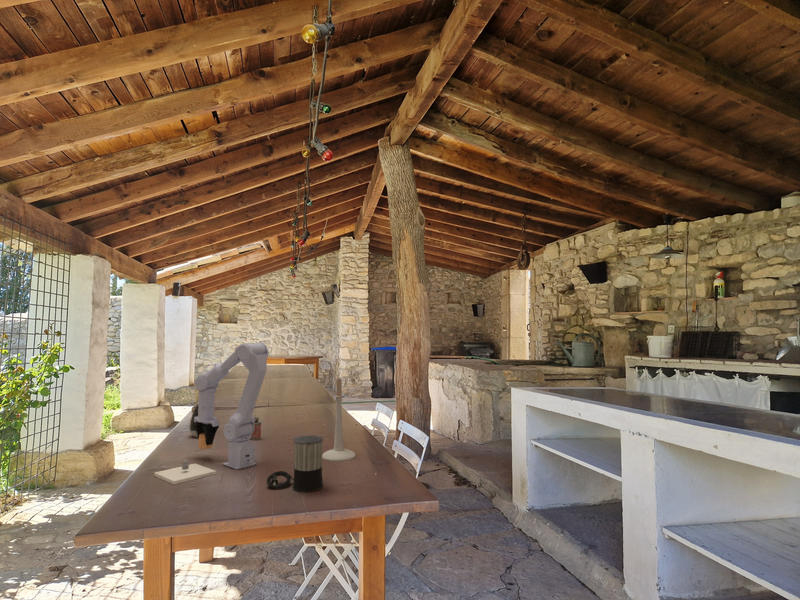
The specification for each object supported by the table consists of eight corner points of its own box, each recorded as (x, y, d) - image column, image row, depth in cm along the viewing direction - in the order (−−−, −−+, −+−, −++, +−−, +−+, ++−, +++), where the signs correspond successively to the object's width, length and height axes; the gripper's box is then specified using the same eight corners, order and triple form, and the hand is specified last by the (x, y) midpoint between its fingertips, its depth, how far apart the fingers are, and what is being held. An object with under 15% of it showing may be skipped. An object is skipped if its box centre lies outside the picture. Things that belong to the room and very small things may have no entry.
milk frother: (327, 489, 144) (327, 439, 145) (275, 498, 137) (276, 446, 138) (312, 476, 157) (312, 431, 158) (263, 484, 149) (264, 436, 150)
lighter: (262, 438, 210) (262, 415, 211) (259, 440, 207) (259, 417, 208) (244, 438, 211) (245, 415, 212) (241, 440, 208) (241, 417, 208)
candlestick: (339, 450, 190) (339, 375, 192) (362, 456, 182) (362, 377, 184) (314, 457, 180) (315, 377, 182) (337, 463, 172) (338, 379, 174)
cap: (214, 447, 178) (214, 433, 179) (202, 449, 175) (203, 435, 175) (208, 445, 181) (208, 432, 182) (196, 447, 178) (196, 434, 178)
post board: (215, 474, 160) (216, 459, 160) (173, 484, 149) (174, 468, 149) (195, 466, 169) (195, 452, 169) (154, 475, 158) (154, 461, 158)
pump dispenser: (209, 432, 222) (210, 399, 223) (216, 436, 214) (217, 402, 215) (186, 435, 216) (187, 402, 217) (193, 440, 208) (194, 404, 209)
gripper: (226, 407, 177) (226, 444, 177) (206, 403, 187) (206, 438, 186) (208, 409, 172) (207, 448, 171) (189, 405, 181) (188, 442, 180)
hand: (205, 443), depth 178 cm, fingers closed on cap, 5 cm apart
